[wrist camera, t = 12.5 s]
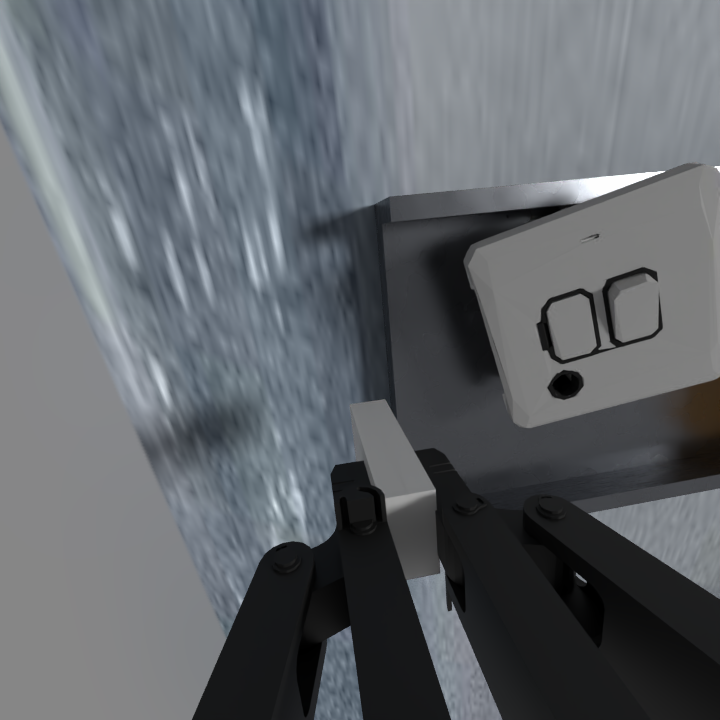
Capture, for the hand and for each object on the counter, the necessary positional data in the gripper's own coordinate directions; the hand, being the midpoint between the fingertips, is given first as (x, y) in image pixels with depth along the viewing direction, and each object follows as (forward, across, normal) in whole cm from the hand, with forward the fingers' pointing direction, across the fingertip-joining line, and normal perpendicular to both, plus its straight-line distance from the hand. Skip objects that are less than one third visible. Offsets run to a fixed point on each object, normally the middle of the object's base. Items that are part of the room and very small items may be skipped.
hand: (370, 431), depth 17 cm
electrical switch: (+4, +13, 0) cm, 14 cm away
